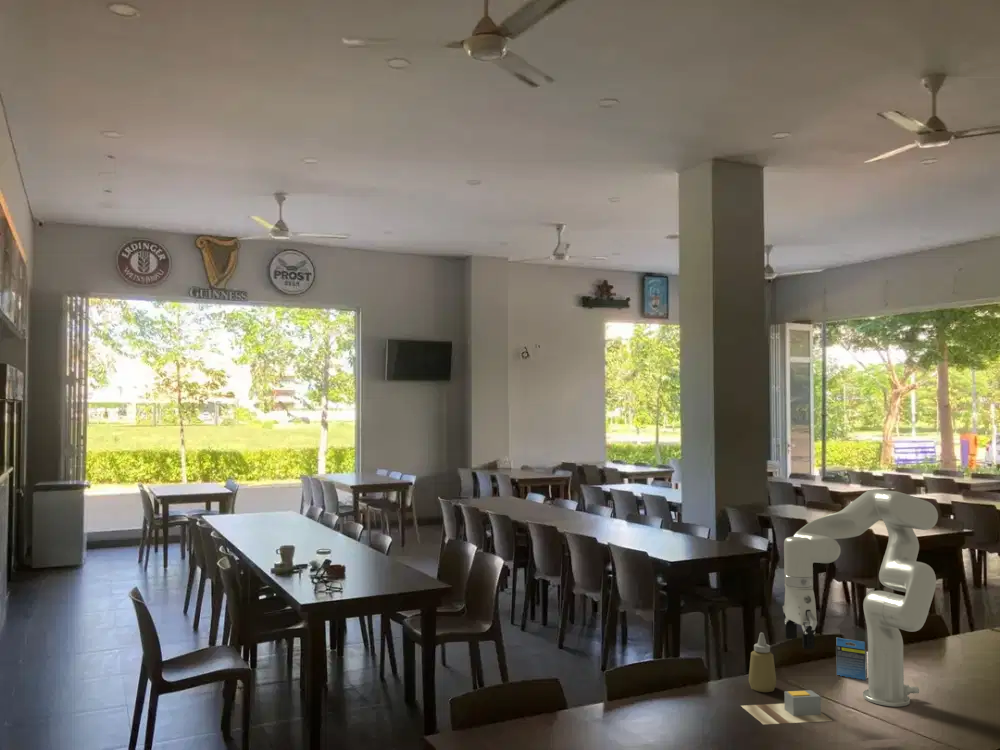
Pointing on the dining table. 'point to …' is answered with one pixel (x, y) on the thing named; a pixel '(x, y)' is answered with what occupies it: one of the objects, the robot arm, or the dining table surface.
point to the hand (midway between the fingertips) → (799, 643)
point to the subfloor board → (780, 714)
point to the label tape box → (851, 659)
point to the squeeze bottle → (762, 667)
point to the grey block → (802, 703)
